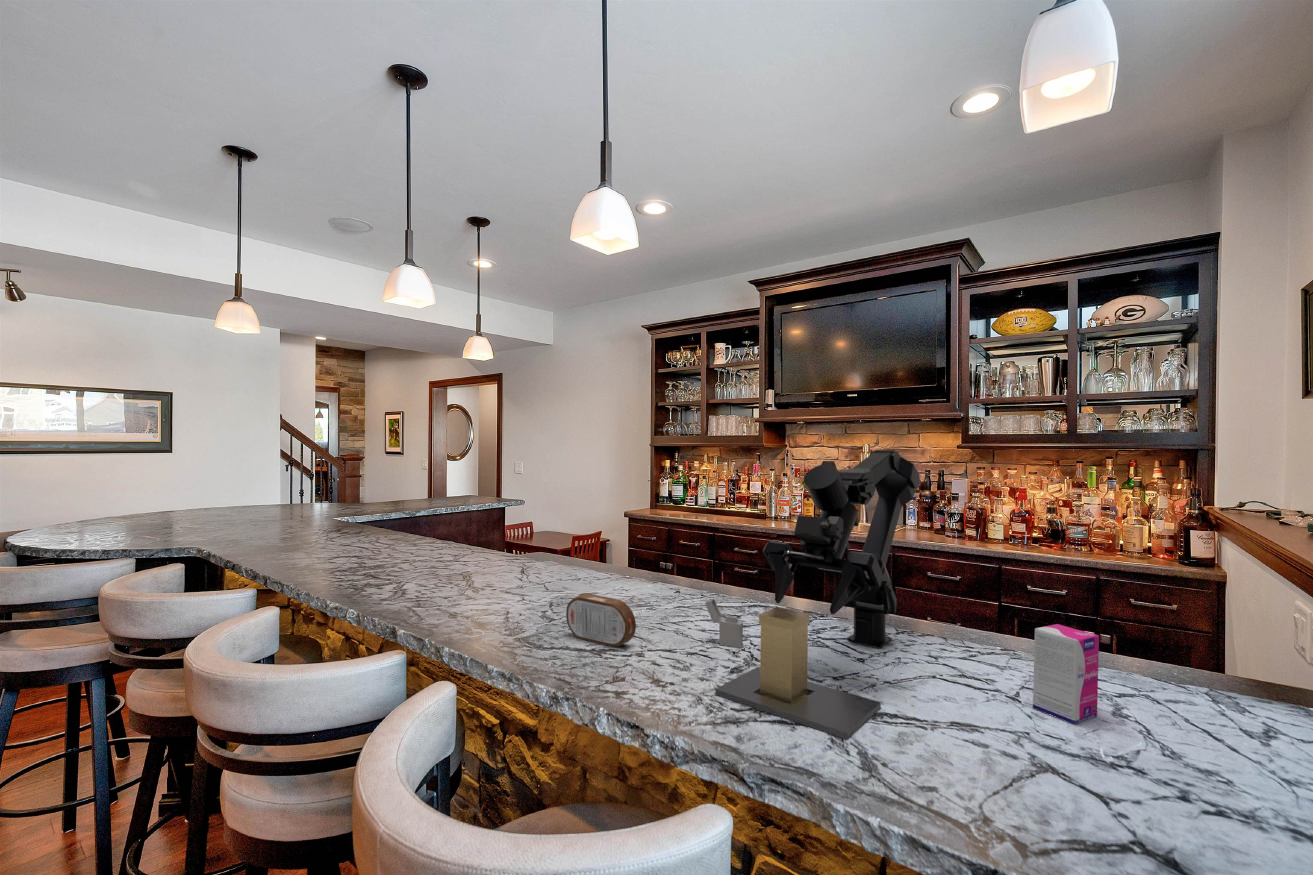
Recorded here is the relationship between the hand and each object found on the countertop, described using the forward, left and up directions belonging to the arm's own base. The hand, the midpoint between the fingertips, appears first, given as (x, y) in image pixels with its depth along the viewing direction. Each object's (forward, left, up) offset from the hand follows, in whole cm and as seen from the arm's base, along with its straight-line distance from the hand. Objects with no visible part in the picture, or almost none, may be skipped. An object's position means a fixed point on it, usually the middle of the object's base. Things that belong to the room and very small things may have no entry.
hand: (803, 607), depth 91 cm
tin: (+7, -38, -12) cm, 41 cm away
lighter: (-8, -20, -12) cm, 25 cm away
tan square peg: (+6, 0, -12) cm, 14 cm away
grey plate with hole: (+6, +2, -12) cm, 14 cm away
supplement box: (-16, +32, -12) cm, 38 cm away
